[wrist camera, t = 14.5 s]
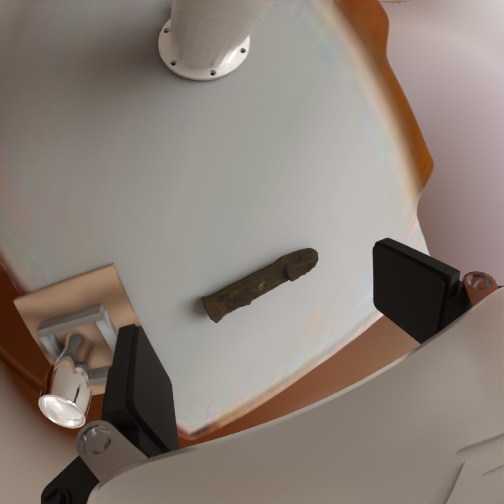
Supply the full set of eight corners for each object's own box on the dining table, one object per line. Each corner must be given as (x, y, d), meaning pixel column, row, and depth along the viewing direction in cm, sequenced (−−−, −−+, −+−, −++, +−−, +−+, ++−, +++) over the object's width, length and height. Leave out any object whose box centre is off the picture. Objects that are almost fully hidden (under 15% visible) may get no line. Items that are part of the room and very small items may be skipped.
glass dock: (16, 297, 33) (5, 310, 30) (113, 262, 37) (108, 274, 33) (77, 394, 42) (73, 409, 38) (167, 373, 45) (168, 390, 41)
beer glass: (62, 354, 37) (41, 420, 24) (62, 322, 36) (33, 387, 22) (100, 365, 40) (88, 434, 26) (102, 333, 38) (86, 403, 25)
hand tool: (210, 314, 44) (215, 330, 40) (199, 294, 43) (203, 310, 38) (314, 261, 47) (328, 272, 42) (308, 240, 45) (322, 250, 41)
